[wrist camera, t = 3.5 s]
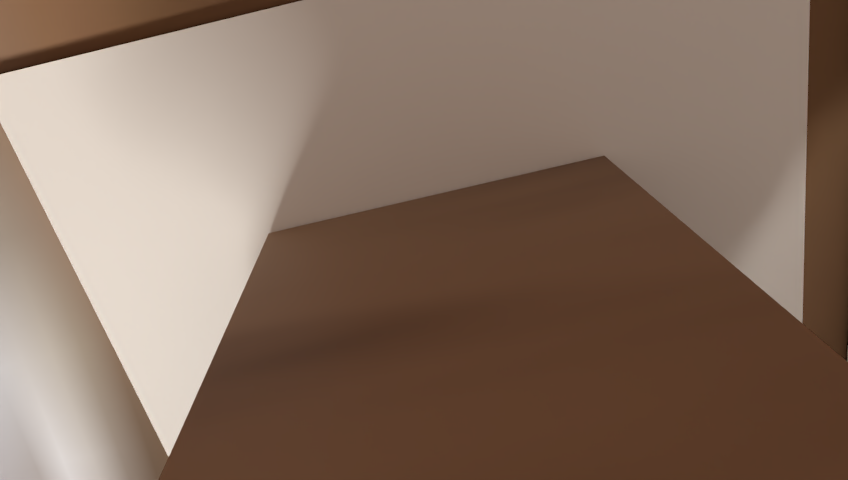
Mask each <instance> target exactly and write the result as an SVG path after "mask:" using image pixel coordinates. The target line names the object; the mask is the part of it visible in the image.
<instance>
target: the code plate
mask: <svg viewBox="0 0 848 480" xmlns="http://www.w3.org/2000/svg"><path fill="white" fill-rule="evenodd" d="M809 21H810V0H301V1H297V2H293V3H289V4H285V5H281V6H277V7H273V8H269V9H265V10H260V11H256V12H252V13H248V14H244V15H240V16H236V17H232V18H228V19H224V20H220V21H216V22H211V23H207V24H203V25H199V26H195V27H191V28H187V29H183V30H179V31H175V32H171V33H166V34H162V35H158V36H154V37H150V38H146V39H142V40H138V41H134V42H130V43H126V44H122V45H117V46H113V47H109V48H105V49H101V50H97V51H93V52H89V53H85V54H81V55H77V56H73V57H68V58H64V59H60V60H56V61H52V62H48V63H44V64H40V65H36V66H32V67H28V68H24V69H19V70H15V71H11V72H7V73H3V74H0V123H1V125H2V127H3V129H4V131H5V133H6V135H7V137H8V139H9V141H10V143H11V145H12V146H13V148H14V150H15V152H16V154H17V156H18V158H19V160H20V162H21V164H22V166H23V168H24V170H25V172H26V174H27V176H28V178H29V180H30V182H31V184H32V186H33V188H34V190H35V192H36V194H37V196H38V198H39V200H40V202H41V204H42V206H43V208H44V210H45V212H46V214H47V216H48V218H49V220H50V222H51V224H52V226H53V228H54V230H55V232H56V234H57V236H58V238H59V240H60V242H61V244H62V246H63V248H64V250H65V252H66V254H67V256H68V258H69V260H70V262H71V264H72V266H73V268H74V270H75V272H76V274H77V276H78V278H79V280H80V282H81V284H82V286H83V288H84V290H85V292H86V294H87V296H88V298H89V300H90V302H91V304H92V306H93V308H94V310H95V312H96V314H97V316H98V318H99V320H100V322H101V324H102V326H103V327H104V329H105V331H106V333H107V335H108V337H109V339H110V341H111V343H112V345H113V347H114V349H115V351H116V353H117V355H118V357H119V359H120V361H121V363H122V365H123V367H124V369H125V371H126V373H127V375H128V377H129V379H130V381H131V383H132V385H133V387H134V389H135V391H136V393H137V395H138V397H139V399H140V401H141V403H142V405H143V407H144V409H145V411H146V413H147V415H148V417H149V419H150V421H151V423H152V425H153V427H154V429H155V431H156V433H157V435H158V437H159V439H160V441H161V443H162V445H163V447H164V449H165V451H166V453H167V455H168V457H169V456H170V453H171V451H172V449H173V447H174V444H175V442H176V440H177V438H178V435H179V433H180V431H181V429H182V426H183V424H184V422H185V420H186V418H187V415H188V413H189V411H190V409H191V406H192V404H193V402H194V400H195V397H196V395H197V393H198V391H199V388H200V386H201V384H202V382H203V379H204V377H205V375H206V373H207V370H208V368H209V366H210V364H211V362H212V359H213V357H214V355H215V353H216V350H217V348H218V346H219V344H220V341H221V339H222V337H223V335H224V332H225V330H226V328H227V326H228V323H229V321H230V319H231V317H232V314H233V312H234V310H235V308H236V306H237V303H238V301H239V299H240V297H241V294H242V292H243V290H244V288H245V285H246V283H247V281H248V279H249V276H250V274H251V272H252V270H253V267H254V265H255V263H256V261H257V258H258V256H259V254H260V252H261V249H262V247H263V245H264V243H265V241H266V238H267V236H268V234H269V233H272V232H276V231H280V230H285V229H289V228H293V227H298V226H302V225H306V224H311V223H315V222H319V221H323V220H328V219H332V218H336V217H341V216H345V215H349V214H354V213H358V212H362V211H367V210H371V209H375V208H380V207H384V206H388V205H393V204H397V203H401V202H406V201H410V200H414V199H419V198H423V197H427V196H432V195H436V194H440V193H445V192H449V191H453V190H458V189H462V188H466V187H471V186H475V185H479V184H483V183H488V182H492V181H496V180H501V179H505V178H509V177H514V176H518V175H522V174H527V173H531V172H535V171H540V170H544V169H548V168H553V167H557V166H561V165H566V164H570V163H574V162H579V161H583V160H587V159H592V158H596V157H600V156H605V157H607V158H608V159H609V160H610V161H611V162H612V163H614V164H615V165H616V166H617V167H618V168H620V169H621V170H622V171H623V172H624V173H625V174H627V175H628V176H629V177H630V178H631V179H633V180H634V181H635V182H636V183H637V184H638V185H640V186H641V187H642V188H643V189H644V190H645V191H647V192H648V193H649V194H650V195H651V196H653V197H654V198H655V199H656V200H657V201H658V202H660V203H661V204H662V205H663V206H664V207H666V208H667V209H668V210H669V211H670V212H671V213H673V214H674V215H675V216H676V217H677V218H678V219H680V220H681V221H682V222H683V223H684V224H686V225H687V226H688V227H689V228H690V229H691V230H693V231H694V232H695V233H696V234H697V235H699V236H700V237H701V238H702V239H703V240H704V241H706V242H707V243H708V244H709V245H710V246H712V247H713V248H714V249H715V250H716V251H717V252H719V253H720V254H721V255H722V256H723V257H724V258H726V259H727V260H728V261H729V262H730V263H732V264H733V265H734V266H735V267H736V268H737V269H739V270H740V271H741V272H742V273H743V274H745V275H746V276H747V277H748V278H749V279H750V280H752V281H753V282H754V283H755V284H756V285H757V286H759V287H760V288H761V289H762V290H763V291H765V292H766V293H767V294H768V295H769V296H770V297H772V298H773V299H774V300H775V301H776V302H778V303H779V304H780V305H781V306H782V307H783V308H785V309H786V310H787V311H788V312H789V313H791V314H792V315H793V316H794V317H795V318H796V319H798V320H799V321H800V322H801V323H803V280H804V237H805V194H806V151H807V107H808V64H809Z"/></svg>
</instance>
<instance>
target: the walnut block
mask: <svg viewBox="0 0 848 480" xmlns="http://www.w3.org/2000/svg"><path fill="white" fill-rule="evenodd" d="M159 480H848V362H847V361H846V360H845V359H844V358H842V357H841V356H840V355H839V354H838V353H836V352H835V351H834V350H833V349H832V348H831V347H829V346H828V345H827V344H826V343H825V342H824V341H822V340H821V339H820V338H819V337H818V336H816V335H815V334H814V333H813V332H812V331H811V330H809V329H808V328H807V327H806V326H805V325H803V324H802V323H801V322H800V321H799V320H798V319H796V318H795V317H794V316H793V315H792V314H791V313H789V312H788V311H787V310H786V309H785V308H783V307H782V306H781V305H780V304H779V303H778V302H776V301H775V300H774V299H773V298H772V297H770V296H769V295H768V294H767V293H766V292H765V291H763V290H762V289H761V288H760V287H759V286H757V285H756V284H755V283H754V282H753V281H752V280H750V279H749V278H748V277H747V276H746V275H745V274H743V273H742V272H741V271H740V270H739V269H737V268H736V267H735V266H734V265H733V264H732V263H730V262H729V261H728V260H727V259H726V258H724V257H723V256H722V255H721V254H720V253H719V252H717V251H716V250H715V249H714V248H713V247H712V246H710V245H709V244H708V243H707V242H706V241H704V240H703V239H702V238H701V237H700V236H699V235H697V234H696V233H695V232H694V231H693V230H691V229H690V228H689V227H688V226H687V225H686V224H684V223H683V222H682V221H681V220H680V219H678V218H677V217H676V216H675V215H674V214H673V213H671V212H670V211H669V210H668V209H667V208H666V207H664V206H663V205H662V204H661V203H660V202H658V201H657V200H656V199H655V198H654V197H653V196H651V195H650V194H649V193H648V192H647V191H645V190H644V189H643V188H642V187H641V186H640V185H638V184H637V183H636V182H635V181H634V180H633V179H631V178H630V177H629V176H628V175H627V174H625V173H624V172H623V171H622V170H621V169H620V168H618V167H617V166H616V165H615V164H614V163H612V162H611V161H610V160H609V159H608V158H607V157H605V156H600V157H596V158H592V159H587V160H583V161H579V162H574V163H570V164H566V165H561V166H557V167H553V168H548V169H544V170H540V171H535V172H531V173H527V174H522V175H518V176H514V177H509V178H505V179H501V180H496V181H492V182H488V183H483V184H479V185H475V186H471V187H466V188H462V189H458V190H453V191H449V192H445V193H440V194H436V195H432V196H427V197H423V198H419V199H414V200H410V201H406V202H401V203H397V204H393V205H388V206H384V207H380V208H375V209H371V210H367V211H362V212H358V213H354V214H349V215H345V216H341V217H336V218H332V219H328V220H323V221H319V222H315V223H311V224H306V225H302V226H298V227H293V228H289V229H285V230H280V231H276V232H272V233H269V234H268V236H267V238H266V241H265V243H264V245H263V247H262V249H261V252H260V254H259V256H258V258H257V261H256V263H255V265H254V267H253V270H252V272H251V274H250V276H249V279H248V281H247V283H246V285H245V288H244V290H243V292H242V294H241V297H240V299H239V301H238V303H237V306H236V308H235V310H234V312H233V314H232V317H231V319H230V321H229V323H228V326H227V328H226V330H225V332H224V335H223V337H222V339H221V341H220V344H219V346H218V348H217V350H216V353H215V355H214V357H213V359H212V362H211V364H210V366H209V368H208V370H207V373H206V375H205V377H204V379H203V382H202V384H201V386H200V388H199V391H198V393H197V395H196V397H195V400H194V402H193V404H192V406H191V409H190V411H189V413H188V415H187V418H186V420H185V422H184V424H183V426H182V429H181V431H180V433H179V435H178V438H177V440H176V442H175V444H174V447H173V449H172V451H171V453H170V456H169V458H168V460H167V462H166V465H165V467H164V469H163V471H162V474H161V476H160V478H159Z"/></svg>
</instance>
